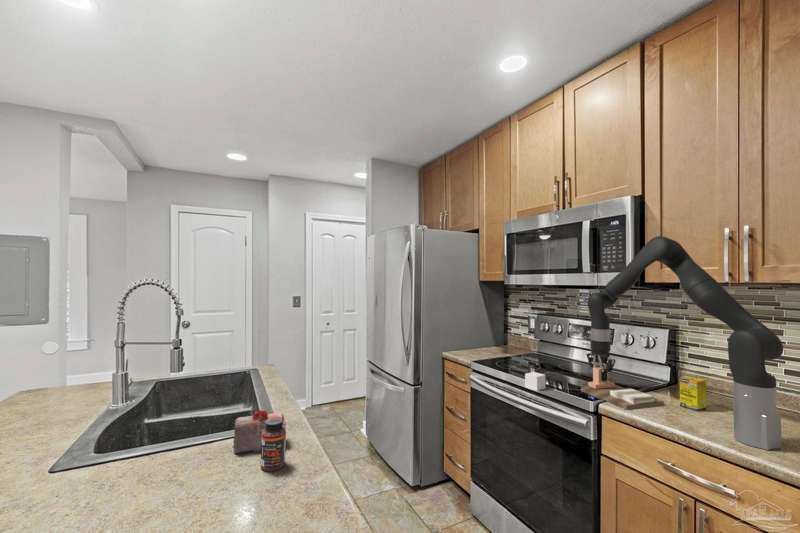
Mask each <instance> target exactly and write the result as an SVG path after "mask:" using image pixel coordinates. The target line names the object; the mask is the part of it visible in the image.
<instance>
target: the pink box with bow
mask: <svg viewBox="0 0 800 533" xmlns="http://www.w3.org/2000/svg"><path fill="white" fill-rule="evenodd" d="M274 418H279V419H282V427H284V428H285V430H287V422H286V418H285V416H284V413H283V412H282V411H280V412H276V413H274V412H273V413H268V412H267V410H261V409H259V410H256V411H255V412H253V415H248V416H240V417H237V418H236V419H234V421H233V422H234V428H233V429H234V436H233V446H232V448H233V454H235V455H236V454H239V453H246V452H251V451H254V452H257V453H258V452H261V435H262V432H263V430H264V429H266V421H268V420H270V419H274Z"/></svg>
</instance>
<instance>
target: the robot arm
mask: <svg viewBox="0 0 800 533" xmlns="http://www.w3.org/2000/svg"><path fill="white" fill-rule="evenodd" d="M655 262H659V263H662V264H663V265H665V266H666V267H667V268H668V269H669V270H670V271H672V272H673V273H674V274H675V276H677V278H678V280H679V283H680V285H681V289H682V290H683V291H684V293H685V294H686V296H688V297H689V299H690V301H692V302H693V303H694V305H696V307H698V308H699V309H701V310H702V311H704V312H705V313H707V314H708V315H710V316H711V317H714V318H715V319H717V320H719V321H720V322H722V323H723V324H725V325H727V327H729V328H730V329H731V330H732V331H733V332H731V334H730V336H729V337H728V340H727V354H728V365H729V366H728V367H729V371H730V372H731V374H732V381H733V382H732V384H733V385H732V386H733V388H732V392H733V394H732V397H733V398H732V399H733V400H732V401H733V404H732V405H733V438H734V440H736V441H737V442H740V443H741V444H745V445H746V446H750V447H754V448H759V449H763V450H765V451H772V450H776V449H782V414H780V413H778V410H777V408H778V406H777V398H778V397H777V378H776V377H775V376H774V375H772V374H770V373H768V372H767V370H766V369H767V368H766V361H773V360H776V359H779V358H780V357H781V356H782V355H783V353H784V345H783V342H782V341H781V339H780V337H779V336H778V335H777V334H776V333H774V331H772V330H771V329H770V328H769V327H767V326H766V325H765V324H763V323H762V322H761V321H759V320H758V319H757V318H756V317H755V316H754V315H752V314H751V313H750V312H749V311H748V310H746V309H745V308H744V307H743V306H742V304H740V303H739V302H738V301H737V300H736V299H735V298H734V297H733V296H732V295H731V294H730V293H729V292H728V291H727V290H726V289H725V288H724V287H723V285H721V284H720V283H719V282H718V281H717V280H716V279H715V278H714V277H713V276H711V275H710V274H709V273H708V272H707V271H706V270H705V269H704V268H702V267H701V266H700V265H699V264H698V263H696V262H695V260H694V259H693V258H692V257H691V256H690V255H689V253H688V252H687V250H686V249H685V248H684V247H683V246H682V245H681V244H680V243H679V242H678V241H677V240H675V239H671V238H668V237H666V236H660V235H659V236H655V237H653V238H651V239H650V240H648V241H647V243H645V244H644V245H643V247H642V248H641V249H640V251H638V253H637V254H635V256H634V257H633V258H632V260H631V261H629V263H628V264H627V265H626V267H625V268H624V269H622V270H621V271H620V272H619V273H617V275H616V276H614V277H613V278H612V279H611V280H610V281H608V282H607V284H606V285H605V288H604V290H602V291H600V292H593V293H591V294H590V295H589V296H588V299H587V308H588V311H589V316H590V340H589V342H590V350H591V352H590V353H589V352H587V353H586V354H585V355H586V358H587V361H588V364H589V367H590V368H592V369H593V368H595V367H601V371H602V372H601V380H602V381H607V373H608V374H609V373H610V372H611V373H612V371H613V368H614V366H615V364H616V359H615V358H612V357H611V355H610V351H611V330H610V328H611V324H610V322H611V321H610V317H609V315H606V311H605V310H606V309H608V308H610V307H612V306H613V305H614V304H615V303H616V302H617V301H618V300H619V298H620V297H621V296H622V295H624V294H625V293H626V292H628V290H630V289H631V288H632V287H634V286H635V285H636V283H637V282H638V280H639V278H640V276H641V275H642V273H643V271H645V269H647V267H649V266H651V265H652V264H653V263H655ZM604 368H605V369H604Z"/></svg>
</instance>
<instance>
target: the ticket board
mask: <svg viewBox="0 0 800 533" xmlns="http://www.w3.org/2000/svg"><path fill="white" fill-rule="evenodd" d="M580 391H581V392H582V393H584V394H587V395H589V396H592V397H595V398H596V399H600V400H601V399H605V400H606V401H607V403H608V404H612V405H614V406H616V407H619V408H621V409H624V410H636V409H643V408H644V409H645V408H653V407H660V406H664V402H665V401H664V400H660V399H658V398H655V396H654V395H651V394H649V393H646V392H642V391H640V390H636V389H633V388H632V387H624V386H620V385H618V384H615V387H610V388H600V389H595V388H592V387H589V386H585V387H584V386H583V387H581V388H580ZM606 401H605V402H606Z"/></svg>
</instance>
